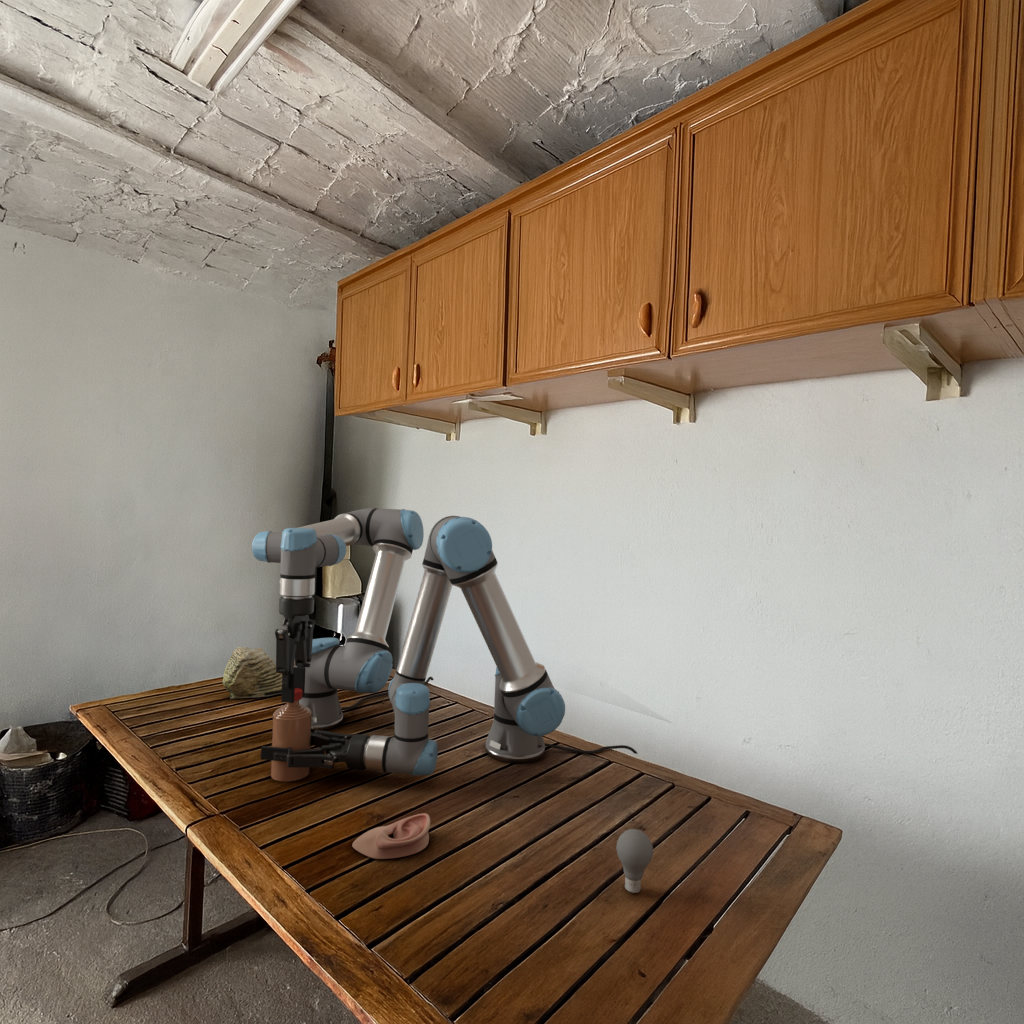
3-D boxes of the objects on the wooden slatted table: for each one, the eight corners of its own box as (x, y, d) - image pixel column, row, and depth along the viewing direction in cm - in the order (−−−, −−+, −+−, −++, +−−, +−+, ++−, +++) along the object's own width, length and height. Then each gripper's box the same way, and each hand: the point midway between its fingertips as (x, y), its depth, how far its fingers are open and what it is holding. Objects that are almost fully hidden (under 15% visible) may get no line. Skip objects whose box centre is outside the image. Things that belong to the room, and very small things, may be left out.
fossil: (218, 695, 195) (220, 647, 195) (278, 685, 208) (279, 640, 207) (228, 703, 189) (230, 653, 188) (289, 692, 201) (290, 645, 201)
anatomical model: (345, 832, 112) (372, 802, 124) (344, 854, 113) (371, 822, 124) (415, 843, 110) (436, 812, 121) (414, 866, 110) (436, 832, 121)
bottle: (271, 783, 139) (274, 701, 138) (269, 768, 146) (272, 689, 146) (311, 778, 142) (314, 697, 142) (307, 763, 150) (310, 687, 149)
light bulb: (610, 879, 108) (613, 822, 108) (644, 879, 109) (647, 822, 109) (619, 902, 102) (622, 840, 102) (655, 901, 103) (658, 840, 103)
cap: (281, 701, 142) (282, 693, 142) (286, 695, 146) (286, 687, 146) (299, 701, 142) (300, 693, 142) (304, 695, 146) (304, 688, 146)
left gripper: (300, 590, 152) (297, 686, 153) (260, 600, 136) (256, 708, 136) (329, 592, 151) (326, 689, 151) (292, 603, 134) (288, 712, 135)
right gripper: (351, 790, 132) (247, 781, 134) (381, 751, 153) (291, 743, 155) (352, 755, 132) (248, 746, 134) (382, 720, 153) (292, 713, 155)
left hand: (293, 698), depth 144 cm, fingers closed on cap, 4 cm apart
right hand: (271, 744), depth 144 cm, fingers closed on bottle, 8 cm apart
